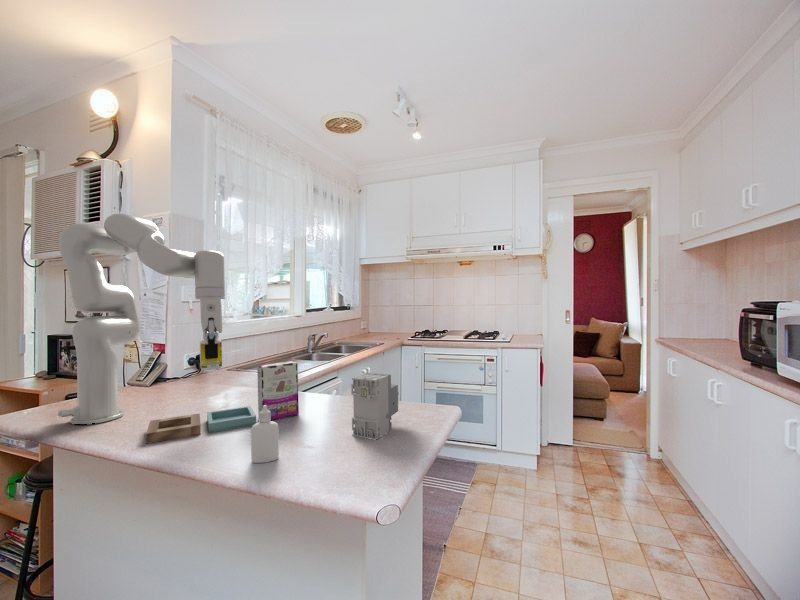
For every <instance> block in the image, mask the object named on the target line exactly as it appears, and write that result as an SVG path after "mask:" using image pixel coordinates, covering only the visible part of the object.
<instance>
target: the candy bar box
mask: <svg viewBox="0 0 800 600" xmlns="http://www.w3.org/2000/svg"><path fill="white" fill-rule="evenodd" d="M256 368H257V374H256V375H257V409H258V411H257V413H258V416H259V412H260V411H262V409H263V406H264V405H266V406H267V410H269V411H271V420H272V421H276V420H275V419H277V420H280V419H279V418H281V419H285V417H286V418H290V417H294V416H298V415H299V414H300V413H299V412H300V411H299V409H300V407H299V377H298V370H299V369H298V368H299V367H298V362H296V361H293V360H291V361H283V362H276V363H275V362H274V363H268V364H260V365H257V367H256ZM289 416H290V417H289ZM271 420H270V421H271Z"/></svg>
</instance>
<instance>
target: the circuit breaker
mask: <svg viewBox="0 0 800 600" xmlns="http://www.w3.org/2000/svg"><path fill="white" fill-rule="evenodd" d="M351 380H352V383H351V384H350V386H351V387H350V388H351V391H350V392H351V395H352V396H353V401H352V402H353V405H352V407H353V416H352V417H351V430H352V434H351V436H352V437H356V436H360V437H359V438H362V437H365V438H364V439H368V438H371V439H370V440H374V439H378V440H379V439H381V438H382V437H383V436H385V435H386V434H388V433H389V432H390V431H392V429H393V428H392V426H393V425H392V422H391V421H392V416H393V415H395V414H396V413H398V412H399V385H398V384H394V383H393V384H392V374H390V373H389V374H388V373H375V372H364V373H361V374H359V375H356V376H354V377H351ZM389 430H390V431H389ZM388 431H389V432H388ZM387 432H388V433H387ZM385 433H386V434H385ZM384 434H385V435H384ZM380 437H381V438H380Z"/></svg>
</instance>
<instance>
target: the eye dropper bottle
mask: <svg viewBox="0 0 800 600" xmlns="http://www.w3.org/2000/svg"><path fill="white" fill-rule="evenodd" d="M270 420H271V411H269V410H267V406H266V405H264V406H263V409H262V411H260V412H259V415H258V422H256V424H254V425H252V426H251V431H250V439H251V441H250V442H251V444H250V445H251V447H250V449H251V452H250V453H251V455H250V456H251V458H250V459H251V462H252V463H253V464H263V463H264V464H265V463H270V461H271V462H274V461H277V460H278V459H279V455H280V452H279V451H280V449H279V448H280V446H279V444H280V443H279V440H280V439H279V423H277V422H276V421H275V420H272V421H270Z"/></svg>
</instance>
